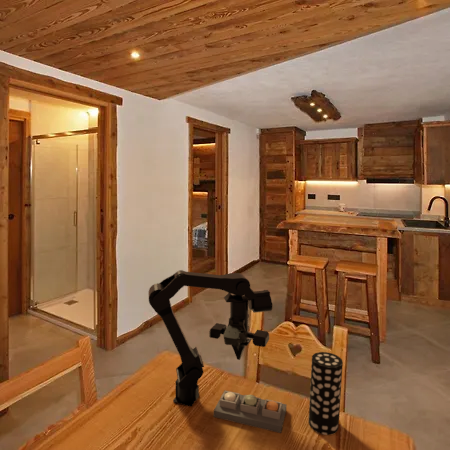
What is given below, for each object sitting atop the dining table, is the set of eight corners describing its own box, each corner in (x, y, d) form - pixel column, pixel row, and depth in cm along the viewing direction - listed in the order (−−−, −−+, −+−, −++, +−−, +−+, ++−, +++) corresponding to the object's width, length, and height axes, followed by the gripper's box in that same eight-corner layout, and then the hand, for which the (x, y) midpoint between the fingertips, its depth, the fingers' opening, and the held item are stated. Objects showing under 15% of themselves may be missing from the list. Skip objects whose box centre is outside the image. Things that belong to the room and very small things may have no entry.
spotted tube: (340, 437, 95) (344, 369, 92) (309, 432, 96) (312, 365, 94) (336, 416, 103) (340, 353, 100) (308, 412, 104) (311, 350, 102)
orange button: (265, 413, 100) (265, 407, 100) (267, 406, 103) (267, 400, 103) (276, 416, 99) (277, 409, 99) (278, 408, 102) (279, 402, 102)
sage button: (243, 406, 102) (243, 400, 102) (246, 399, 105) (246, 393, 105) (254, 409, 101) (255, 402, 101) (257, 402, 104) (257, 396, 104)
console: (213, 416, 102) (213, 404, 101) (224, 396, 111) (224, 385, 111) (281, 433, 96) (281, 420, 95) (286, 410, 105) (286, 398, 105)
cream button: (222, 403, 104) (223, 397, 104) (226, 397, 107) (226, 391, 107) (233, 406, 103) (233, 400, 103) (236, 399, 106) (236, 393, 106)
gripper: (201, 318, 106) (202, 366, 108) (260, 328, 99) (260, 378, 102) (215, 306, 116) (216, 349, 118) (270, 314, 110) (269, 359, 112)
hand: (238, 359), depth 112 cm, fingers closed
